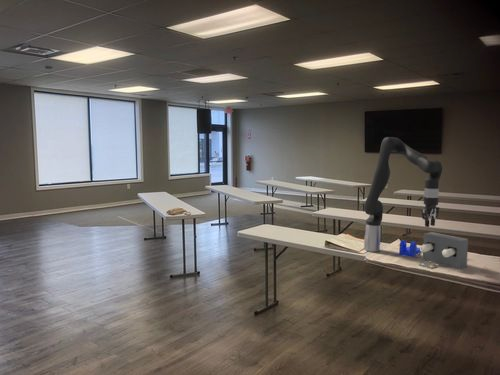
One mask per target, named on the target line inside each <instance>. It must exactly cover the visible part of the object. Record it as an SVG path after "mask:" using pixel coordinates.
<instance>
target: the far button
mask: <svg viewBox="0 0 500 375" xmlns="http://www.w3.org/2000/svg"><path fill="white" fill-rule="evenodd" d="M423 244H424V243H423ZM423 244H422V245H421V246H420V251H421V252H422V253H423V252H427V251H430V250H434V246H435V244H434V243H429V244H424V245H423Z"/></svg>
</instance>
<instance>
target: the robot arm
mask: <svg viewBox="0 0 500 375" xmlns="http://www.w3.org/2000/svg"><path fill="white" fill-rule="evenodd" d="M391 153H398V154H400V155H402V156H404V157H405V158H406V160H408V161H409V163H412V164H413V165H415V166H417V167H418V168H419V169H421V171H423V173H426V174H429V176H428V177H426V178H425V180H424V189H423V190H424V191H423V204H424V205H425V207H424V208H422V209H421V217H422V220H424V226H425V227H426V228H429V227H430V226H432V227H435V226H436V220H437V219H438V217H439V212H440V207H439V206H438V205H439V198H440V196H439V195H440V190H439V189H440V188H439V185H440V180H441V175H442V173H443V165H442V163H441V162H440V161H439V160H429V159H428V157H427V156H426V155H425V154H423V153H421V152H419V151H417V150H415V149H413V148H412V147H410V146H409V145H407V144H406V143H404V142H403V141H402V139H400V138H398V137H396V136H395V137H393V136H391V137H390V136H386V137H384V138H383V139H382V141H381V144H380V149H379V154H378V160H377V163H376V167H375V171H374V174H373V178H372V180H371V181H372V182H371V185H370V189H369V191H368V195H367V197H366V200H365V203H364V205H363V206H364V207H363V209H364V210H363V211H364V212H365V214H367V215H368V218H367V219H366V220H365V234H364V236H363V237H364V242H363V245H364V246H363V249H364V250H365V251H366V252H370V253H371V252H372V253H373V252H374V253H375V252H376V253H377V252H380V250H381V229H382V228H381V227H382V226H381V225H382V221H383V214H384V206H383V203H382V201H381V200H379V199H380V196H381V193H383V191H384V190H385V188H386V187H387V185H388V184H389V179H390V176H391V170H390V168H391V167H390V164H389V161H390V160H389V159H390V156H391Z"/></svg>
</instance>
